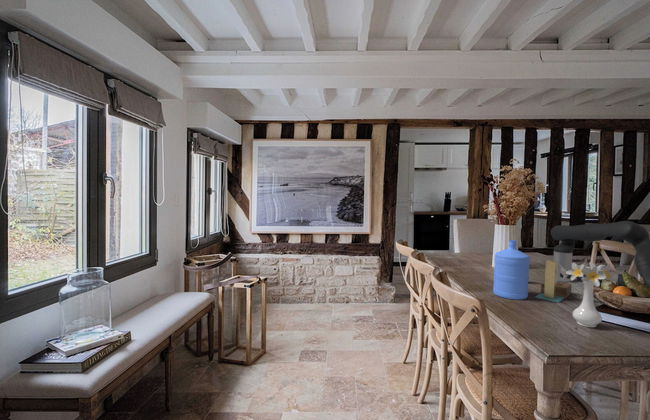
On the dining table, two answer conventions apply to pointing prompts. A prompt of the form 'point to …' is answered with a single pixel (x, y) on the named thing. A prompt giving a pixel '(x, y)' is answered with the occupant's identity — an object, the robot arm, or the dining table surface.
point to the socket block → (560, 289)
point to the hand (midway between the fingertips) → (562, 273)
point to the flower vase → (588, 291)
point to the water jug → (511, 273)
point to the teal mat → (556, 299)
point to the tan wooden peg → (550, 279)
